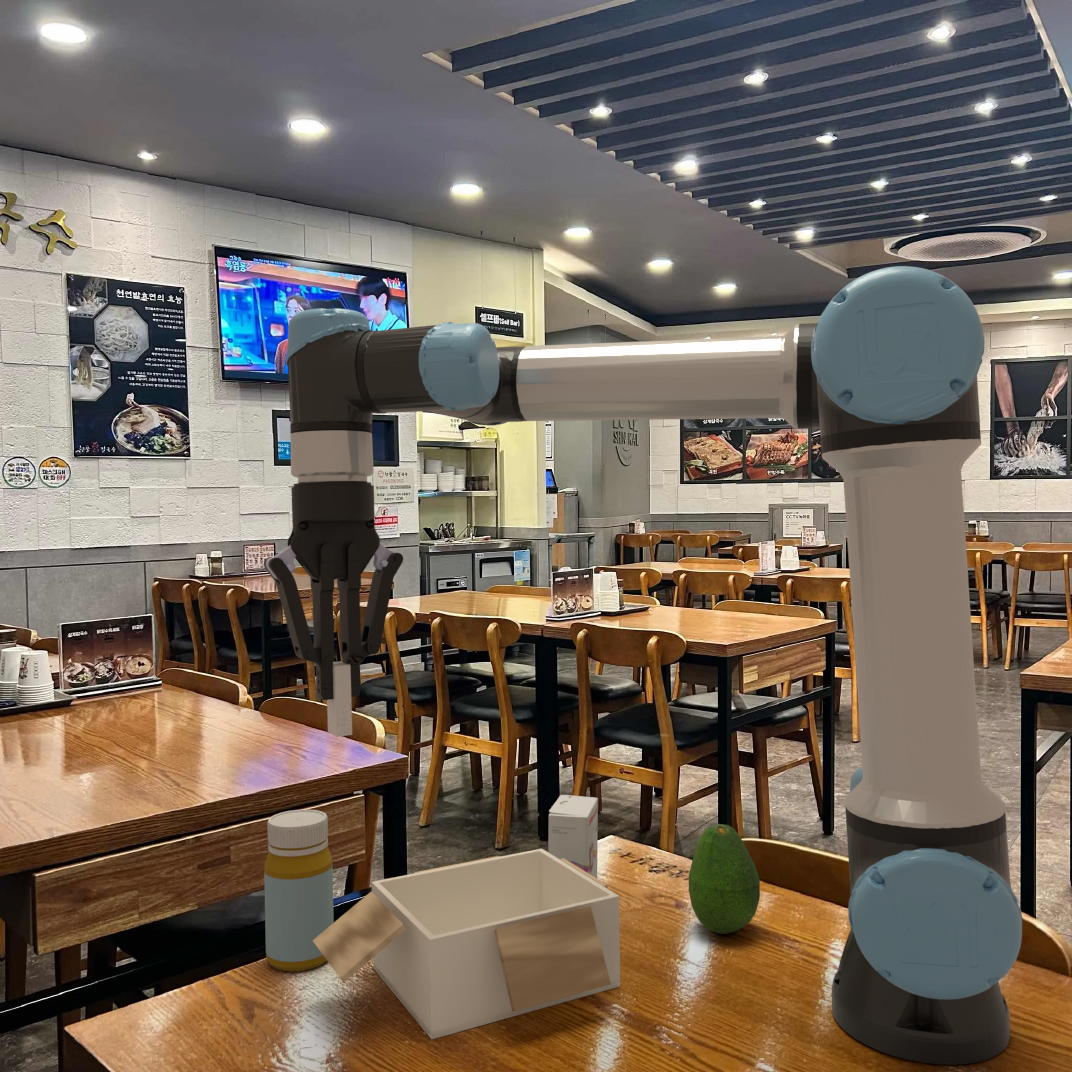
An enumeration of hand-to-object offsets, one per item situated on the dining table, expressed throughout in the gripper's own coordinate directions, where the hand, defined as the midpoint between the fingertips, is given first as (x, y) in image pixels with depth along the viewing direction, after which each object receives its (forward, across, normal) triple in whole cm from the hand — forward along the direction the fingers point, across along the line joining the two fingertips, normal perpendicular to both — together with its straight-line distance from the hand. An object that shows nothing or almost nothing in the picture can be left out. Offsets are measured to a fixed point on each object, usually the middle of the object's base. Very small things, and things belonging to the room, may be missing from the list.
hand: (340, 732), depth 92 cm
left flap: (+17, -4, 0) cm, 18 cm away
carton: (+27, -15, 0) cm, 31 cm away
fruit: (+27, -42, +4) cm, 50 cm away
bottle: (+27, +1, -14) cm, 30 cm away
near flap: (+18, -16, +9) cm, 25 cm away
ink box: (+27, -32, -12) cm, 44 cm away
